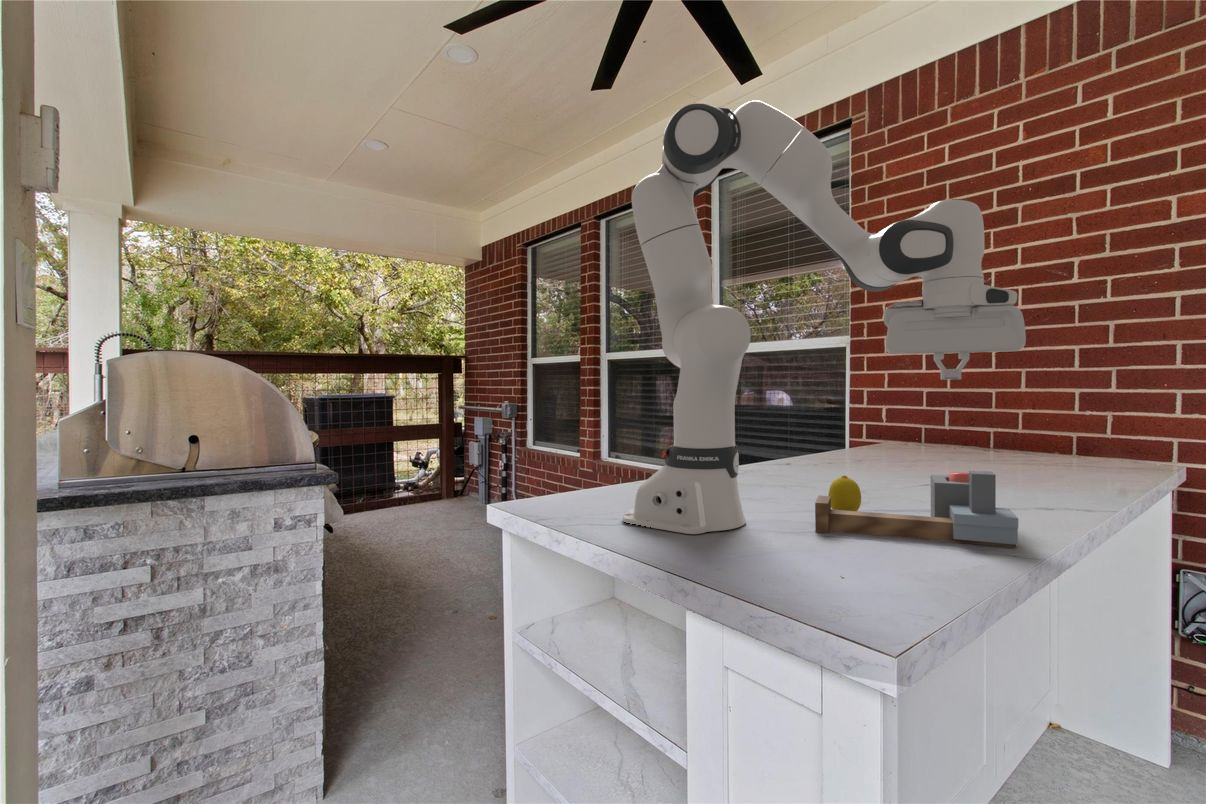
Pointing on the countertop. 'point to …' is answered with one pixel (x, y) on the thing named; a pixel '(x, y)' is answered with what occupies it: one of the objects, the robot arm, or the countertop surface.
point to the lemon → (845, 494)
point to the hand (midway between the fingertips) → (950, 379)
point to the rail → (886, 524)
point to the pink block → (959, 477)
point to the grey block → (947, 495)
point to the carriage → (983, 513)
